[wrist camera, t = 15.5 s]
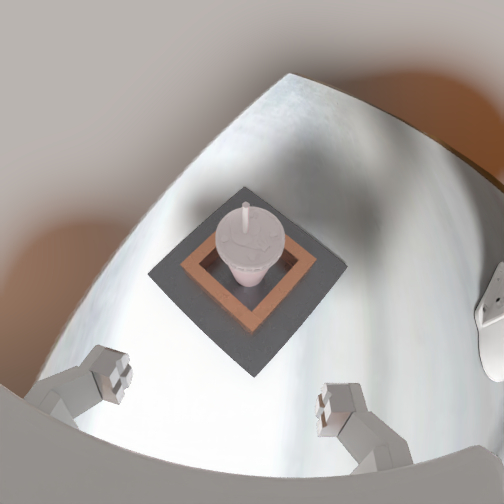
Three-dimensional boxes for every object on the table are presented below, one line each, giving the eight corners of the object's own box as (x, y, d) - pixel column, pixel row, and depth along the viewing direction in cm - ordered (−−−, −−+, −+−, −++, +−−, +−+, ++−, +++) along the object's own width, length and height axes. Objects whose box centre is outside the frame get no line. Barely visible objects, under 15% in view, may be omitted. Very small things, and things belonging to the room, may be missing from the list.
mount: (244, 190, 40) (244, 173, 36) (345, 269, 35) (355, 257, 32) (149, 276, 34) (139, 265, 31) (253, 377, 30) (255, 378, 26)
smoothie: (246, 238, 36) (247, 164, 23) (285, 270, 34) (309, 207, 21) (211, 274, 34) (192, 212, 21) (251, 308, 32) (256, 264, 19)
